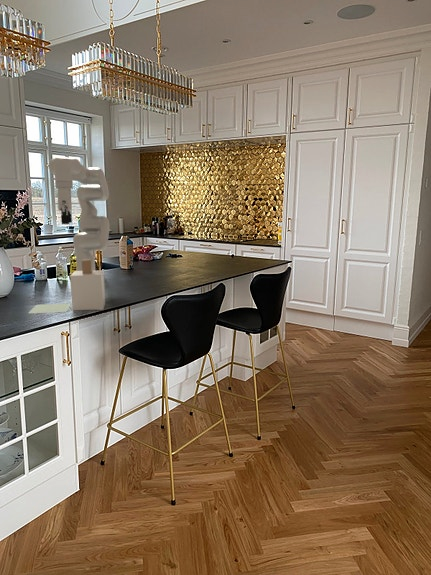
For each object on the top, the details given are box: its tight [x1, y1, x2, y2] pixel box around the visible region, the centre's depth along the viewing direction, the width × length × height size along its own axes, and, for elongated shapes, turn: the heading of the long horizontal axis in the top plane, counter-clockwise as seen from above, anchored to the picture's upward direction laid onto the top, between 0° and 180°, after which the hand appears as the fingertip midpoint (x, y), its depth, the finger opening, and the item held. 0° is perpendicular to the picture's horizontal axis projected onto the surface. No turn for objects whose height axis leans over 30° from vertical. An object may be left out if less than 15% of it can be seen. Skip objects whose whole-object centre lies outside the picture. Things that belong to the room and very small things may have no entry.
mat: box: [28, 302, 72, 315], centre depth 200 cm, size 16×16×1 cm
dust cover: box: [69, 259, 106, 311], centre depth 202 cm, size 13×13×22 cm
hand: (66, 223), depth 205 cm, fingers open, 9 cm apart
